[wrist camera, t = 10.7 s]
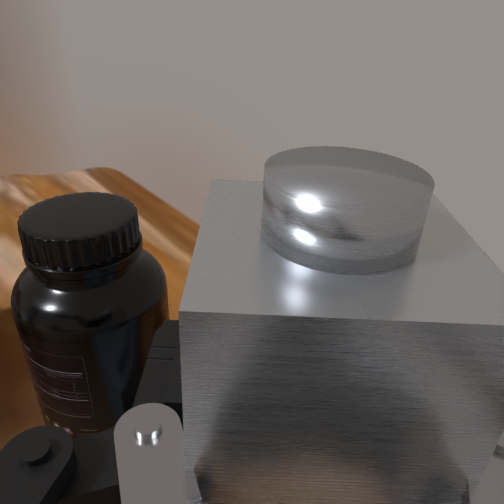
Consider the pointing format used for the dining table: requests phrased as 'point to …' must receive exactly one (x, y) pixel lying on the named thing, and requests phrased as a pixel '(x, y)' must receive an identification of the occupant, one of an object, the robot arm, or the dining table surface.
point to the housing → (338, 338)
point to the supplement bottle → (86, 307)
